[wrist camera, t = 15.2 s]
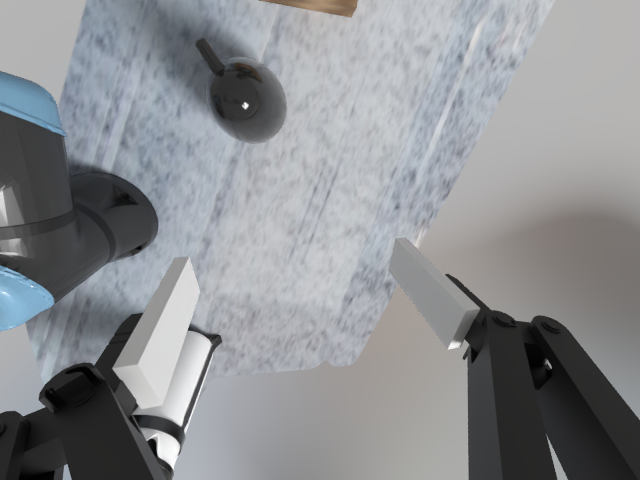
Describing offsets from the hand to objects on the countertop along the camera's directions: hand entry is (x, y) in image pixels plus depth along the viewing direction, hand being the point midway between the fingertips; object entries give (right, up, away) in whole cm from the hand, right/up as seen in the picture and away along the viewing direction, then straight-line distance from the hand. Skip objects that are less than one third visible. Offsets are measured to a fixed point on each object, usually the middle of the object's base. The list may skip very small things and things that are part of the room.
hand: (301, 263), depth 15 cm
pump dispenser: (-9, +23, +22) cm, 33 cm away
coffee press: (-31, -24, +42) cm, 57 cm away
